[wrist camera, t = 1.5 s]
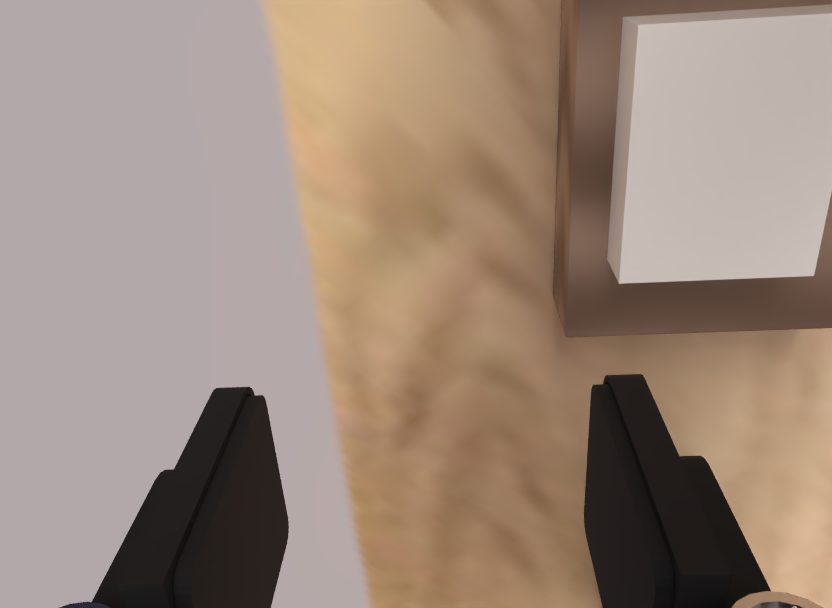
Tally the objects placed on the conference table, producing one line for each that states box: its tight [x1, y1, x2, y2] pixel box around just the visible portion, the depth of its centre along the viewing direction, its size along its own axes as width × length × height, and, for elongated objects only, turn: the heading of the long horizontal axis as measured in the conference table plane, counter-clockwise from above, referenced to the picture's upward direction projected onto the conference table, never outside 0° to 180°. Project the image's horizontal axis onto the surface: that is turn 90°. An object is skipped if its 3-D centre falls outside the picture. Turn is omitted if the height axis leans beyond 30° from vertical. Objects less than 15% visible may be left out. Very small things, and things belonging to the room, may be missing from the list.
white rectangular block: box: [607, 4, 832, 284], centre depth 26 cm, size 9×7×2 cm
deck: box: [553, 0, 832, 337], centre depth 28 cm, size 16×12×4 cm
